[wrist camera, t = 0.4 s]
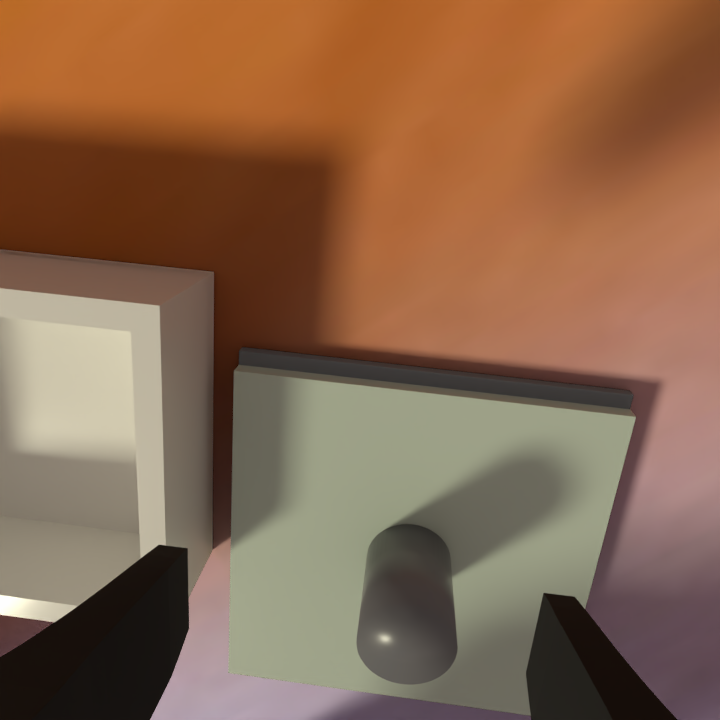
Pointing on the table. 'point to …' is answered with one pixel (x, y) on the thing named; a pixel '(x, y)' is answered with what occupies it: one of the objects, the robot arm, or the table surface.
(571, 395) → the mat
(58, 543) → the dish
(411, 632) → the lid
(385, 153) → the table surface
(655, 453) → the table surface
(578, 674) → the robot arm
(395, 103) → the table surface
